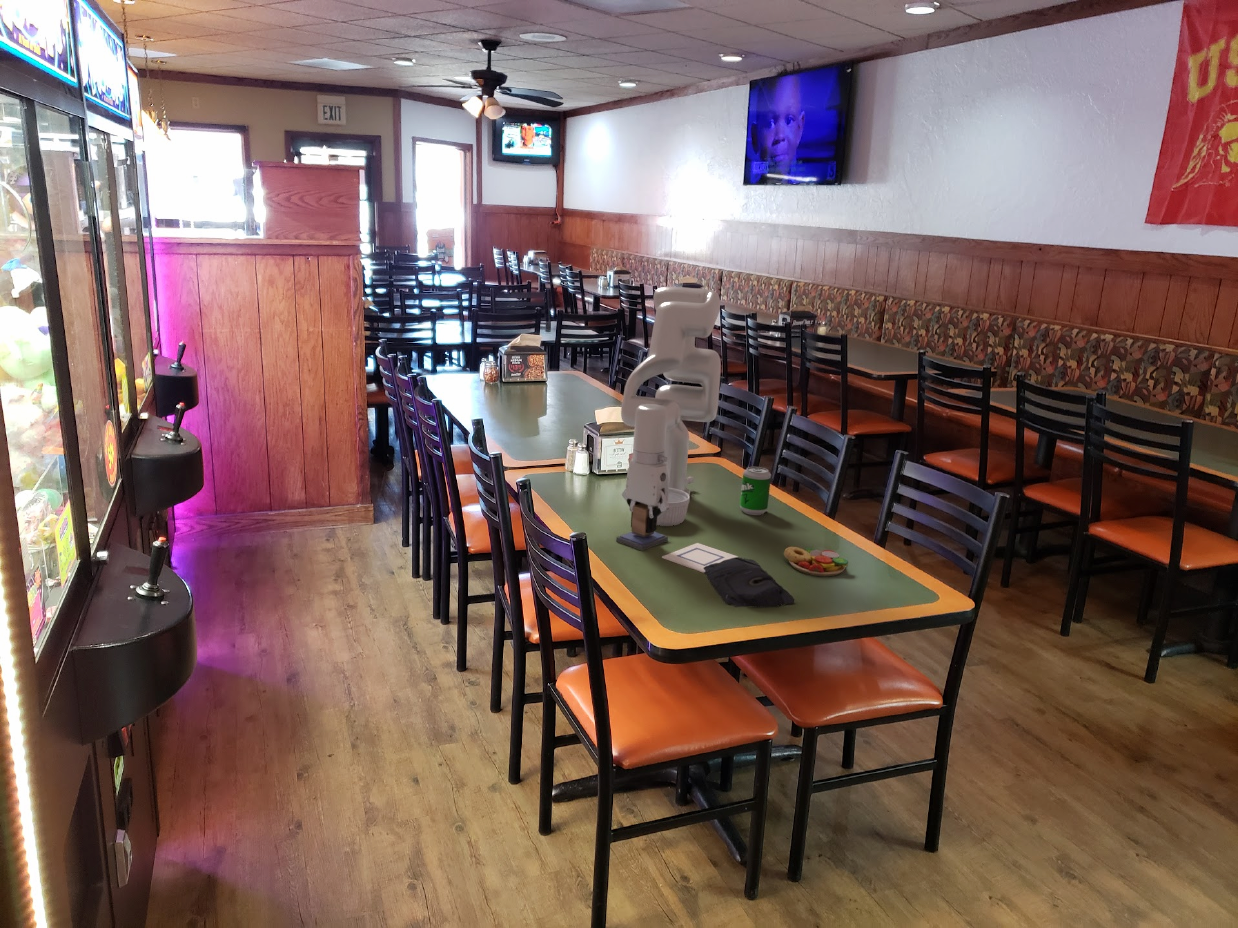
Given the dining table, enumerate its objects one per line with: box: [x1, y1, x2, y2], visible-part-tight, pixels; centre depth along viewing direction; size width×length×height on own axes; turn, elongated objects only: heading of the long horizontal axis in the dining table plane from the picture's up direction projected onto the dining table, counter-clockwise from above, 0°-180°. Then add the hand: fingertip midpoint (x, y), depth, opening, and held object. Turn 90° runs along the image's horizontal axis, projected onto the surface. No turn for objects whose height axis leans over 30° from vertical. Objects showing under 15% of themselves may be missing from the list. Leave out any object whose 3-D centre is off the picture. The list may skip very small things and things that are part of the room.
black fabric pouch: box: [703, 556, 796, 608], centre depth 192 cm, size 15×22×5 cm
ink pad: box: [615, 531, 669, 551], centre depth 215 cm, size 10×8×1 cm
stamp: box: [631, 503, 656, 537], centre depth 214 cm, size 4×4×7 cm
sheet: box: [661, 542, 739, 574], centre depth 207 cm, size 14×12×1 cm
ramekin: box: [657, 488, 691, 527], centre depth 231 cm, size 13×13×7 cm
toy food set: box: [783, 546, 849, 577], centre depth 206 cm, size 13×13×3 cm
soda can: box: [739, 466, 772, 516], centre depth 242 cm, size 8×8×12 cm
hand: (643, 528), depth 215 cm, fingers closed on stamp, 4 cm apart
